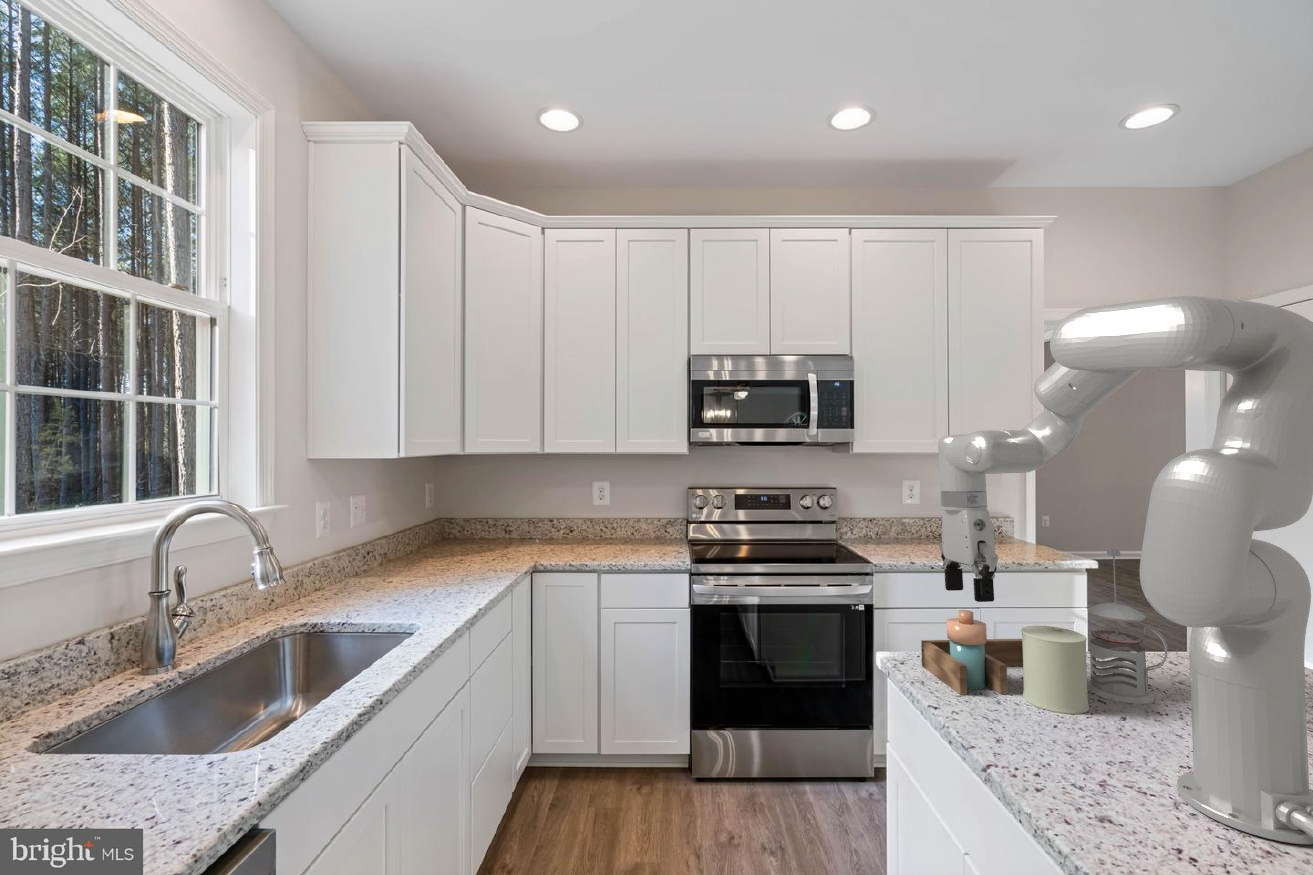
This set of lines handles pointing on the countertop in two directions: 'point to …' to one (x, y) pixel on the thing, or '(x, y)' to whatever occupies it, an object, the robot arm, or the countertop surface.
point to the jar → (971, 662)
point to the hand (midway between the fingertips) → (968, 595)
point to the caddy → (955, 672)
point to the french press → (1120, 654)
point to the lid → (966, 629)
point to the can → (1055, 669)
